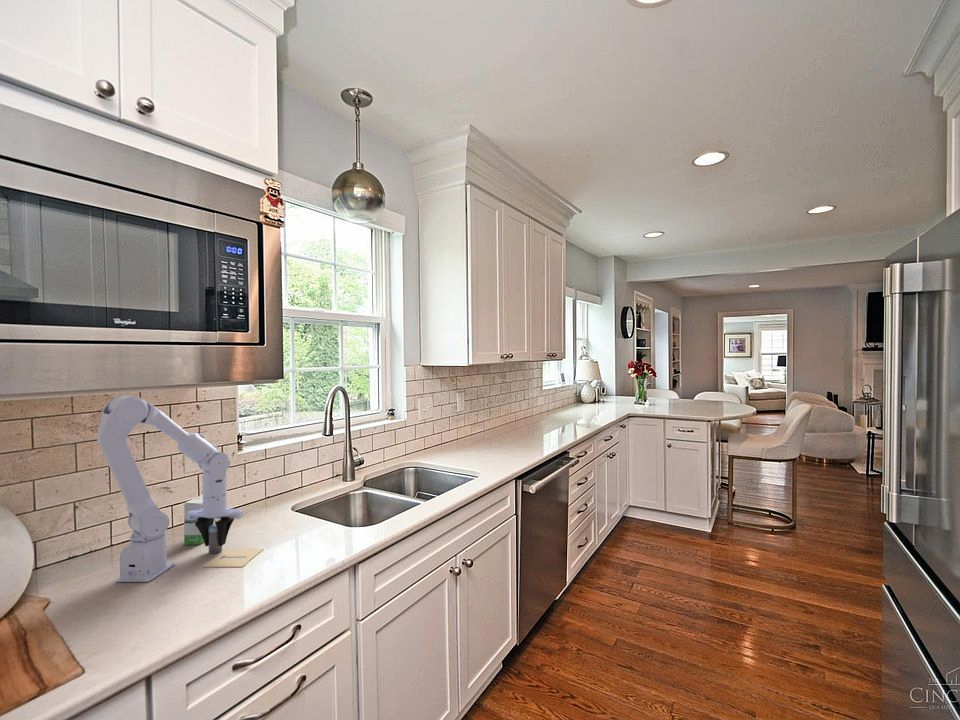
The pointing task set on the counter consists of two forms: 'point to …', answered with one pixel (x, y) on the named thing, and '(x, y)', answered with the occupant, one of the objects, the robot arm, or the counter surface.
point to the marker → (213, 540)
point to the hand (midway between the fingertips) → (215, 544)
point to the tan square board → (233, 558)
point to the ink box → (193, 522)
